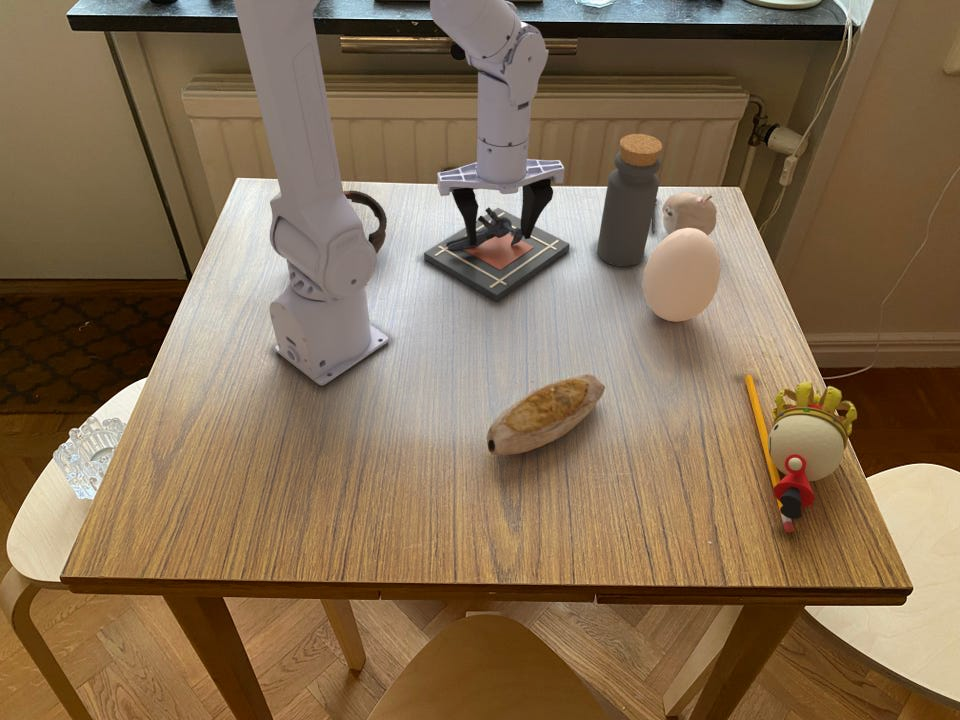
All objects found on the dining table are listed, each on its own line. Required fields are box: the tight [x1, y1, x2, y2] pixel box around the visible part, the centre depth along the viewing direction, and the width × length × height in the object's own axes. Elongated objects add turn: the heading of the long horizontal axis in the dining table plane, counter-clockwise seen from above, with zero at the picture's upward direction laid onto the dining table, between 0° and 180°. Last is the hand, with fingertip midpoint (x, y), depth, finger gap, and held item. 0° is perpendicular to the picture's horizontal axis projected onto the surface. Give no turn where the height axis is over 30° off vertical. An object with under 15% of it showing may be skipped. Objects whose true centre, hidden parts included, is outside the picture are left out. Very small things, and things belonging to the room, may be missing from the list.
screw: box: [651, 198, 658, 233], centre depth 95 cm, size 8×1×1 cm
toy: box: [768, 381, 858, 520], centre depth 64 cm, size 7×7×15 cm
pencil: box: [744, 374, 795, 533], centre depth 67 cm, size 1×18×1 cm, turn 175°
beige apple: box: [662, 191, 718, 237], centre depth 89 cm, size 7×6×8 cm
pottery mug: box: [343, 189, 388, 255], centre depth 87 cm, size 12×10×8 cm
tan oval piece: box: [486, 374, 606, 457], centre depth 67 cm, size 5×14×4 cm, turn 126°
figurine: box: [446, 206, 523, 250], centre depth 87 cm, size 12×10×5 cm
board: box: [423, 207, 571, 303], centre depth 88 cm, size 14×12×1 cm
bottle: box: [596, 133, 663, 267], centre depth 84 cm, size 6×6×15 cm
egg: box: [642, 228, 721, 323], centre depth 77 cm, size 8×8×11 cm
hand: (498, 237), depth 87 cm, fingers closed on figurine, 6 cm apart
